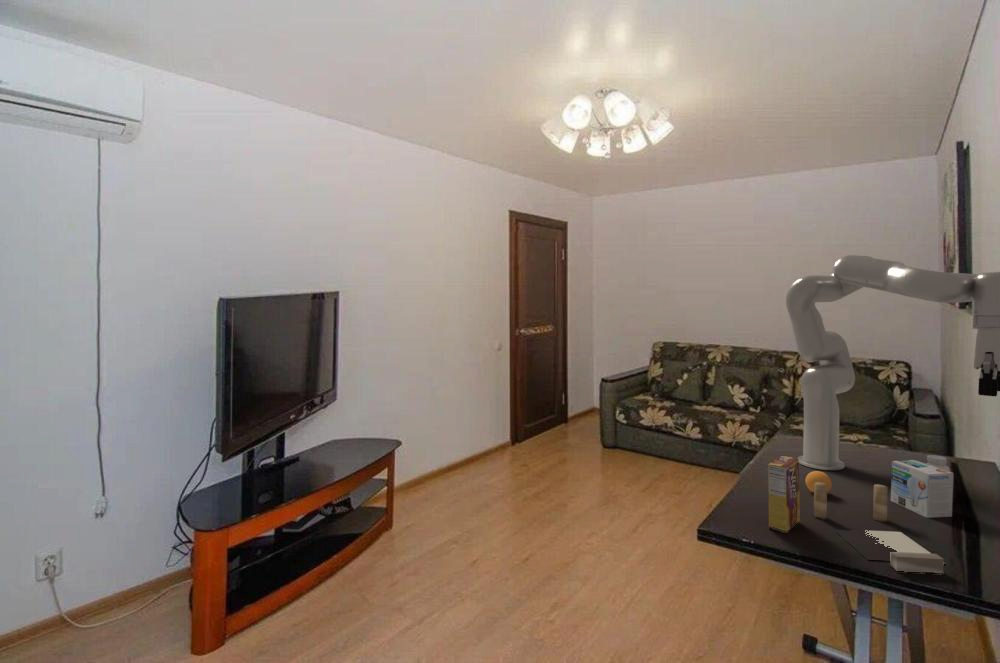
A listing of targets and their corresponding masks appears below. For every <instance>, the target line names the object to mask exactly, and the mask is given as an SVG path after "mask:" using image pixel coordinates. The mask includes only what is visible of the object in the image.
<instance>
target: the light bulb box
mask: <svg viewBox="0 0 1000 663" xmlns="http://www.w3.org/2000/svg"><path fill="white" fill-rule="evenodd" d="M890 482H891V483H890V484H891V485H890V487H891V488H890V502H892V503H894V504H897V505H898V506H901V507H903V508H904V509H907V510H909V511H912V512H914V513H916V514H918V515H919V516H922V517H925V518H927V519H928V518H929V519H930V518H949V517H951V518H952V517H953V497H954V496H953V495H954V494H953V493H954V472H951V471H950V472H949V471H946V470H943V469H940V468H937V467H934V466H931V465H928V464H925V462H921V461H919V460H916V459H908V460H905V459H904V460H892V461H891V481H890Z"/></svg>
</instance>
